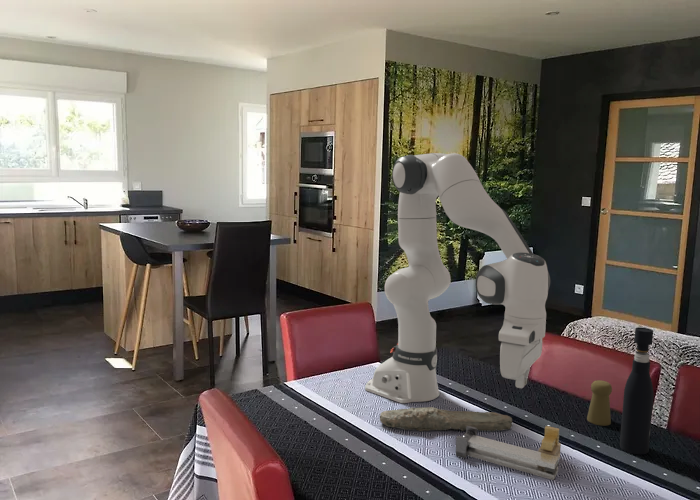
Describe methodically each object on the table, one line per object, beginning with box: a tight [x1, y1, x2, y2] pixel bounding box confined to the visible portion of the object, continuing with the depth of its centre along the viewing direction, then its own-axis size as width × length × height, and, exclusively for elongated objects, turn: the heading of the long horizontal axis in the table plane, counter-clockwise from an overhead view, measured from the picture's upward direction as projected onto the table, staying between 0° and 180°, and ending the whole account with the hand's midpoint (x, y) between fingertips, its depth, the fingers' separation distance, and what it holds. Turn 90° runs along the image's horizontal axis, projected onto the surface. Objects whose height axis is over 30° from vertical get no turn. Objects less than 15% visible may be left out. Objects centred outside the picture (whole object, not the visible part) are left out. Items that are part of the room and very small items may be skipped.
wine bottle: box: [619, 326, 655, 455], centre depth 142 cm, size 6×6×30 cm
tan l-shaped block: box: [540, 425, 560, 452], centre depth 136 cm, size 3×5×4 cm, turn 148°
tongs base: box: [455, 426, 559, 481], centre depth 136 cm, size 22×7×5 cm, turn 58°
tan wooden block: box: [537, 442, 562, 459], centre depth 137 cm, size 4×6×4 cm, turn 148°
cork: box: [586, 379, 613, 427], centre depth 159 cm, size 6×6×11 cm
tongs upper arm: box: [461, 431, 560, 473], centre depth 136 cm, size 22×5×2 cm, turn 58°
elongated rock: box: [379, 406, 513, 433], centre depth 156 cm, size 35×5×10 cm
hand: (521, 386), depth 133 cm, fingers closed
